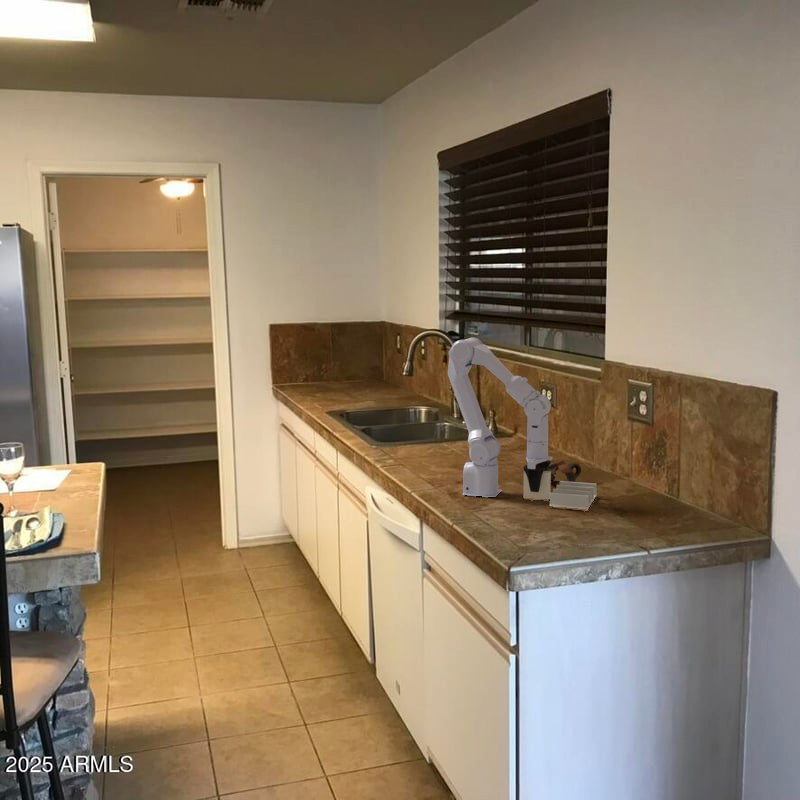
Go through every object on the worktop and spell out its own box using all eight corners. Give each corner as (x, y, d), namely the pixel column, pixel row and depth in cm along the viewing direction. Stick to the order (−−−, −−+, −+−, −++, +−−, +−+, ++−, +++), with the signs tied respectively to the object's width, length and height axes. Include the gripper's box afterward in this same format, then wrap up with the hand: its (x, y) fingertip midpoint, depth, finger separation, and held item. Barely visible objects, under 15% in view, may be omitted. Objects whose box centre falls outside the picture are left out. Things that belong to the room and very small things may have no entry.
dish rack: (549, 508, 229) (549, 493, 228) (560, 494, 242) (560, 480, 242) (587, 511, 225) (587, 496, 224) (596, 497, 239) (596, 483, 238)
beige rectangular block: (523, 499, 238) (523, 471, 236) (525, 497, 240) (525, 469, 238) (548, 501, 235) (549, 473, 234) (550, 499, 237) (550, 471, 236)
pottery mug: (558, 492, 247) (545, 466, 248) (545, 499, 255) (533, 473, 257) (592, 477, 251) (579, 451, 252) (578, 484, 260) (566, 459, 261)
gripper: (546, 446, 227) (545, 497, 229) (557, 436, 240) (556, 484, 242) (520, 444, 229) (519, 494, 231) (532, 434, 243) (531, 482, 245)
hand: (536, 489), depth 237 cm, fingers open, 5 cm apart
